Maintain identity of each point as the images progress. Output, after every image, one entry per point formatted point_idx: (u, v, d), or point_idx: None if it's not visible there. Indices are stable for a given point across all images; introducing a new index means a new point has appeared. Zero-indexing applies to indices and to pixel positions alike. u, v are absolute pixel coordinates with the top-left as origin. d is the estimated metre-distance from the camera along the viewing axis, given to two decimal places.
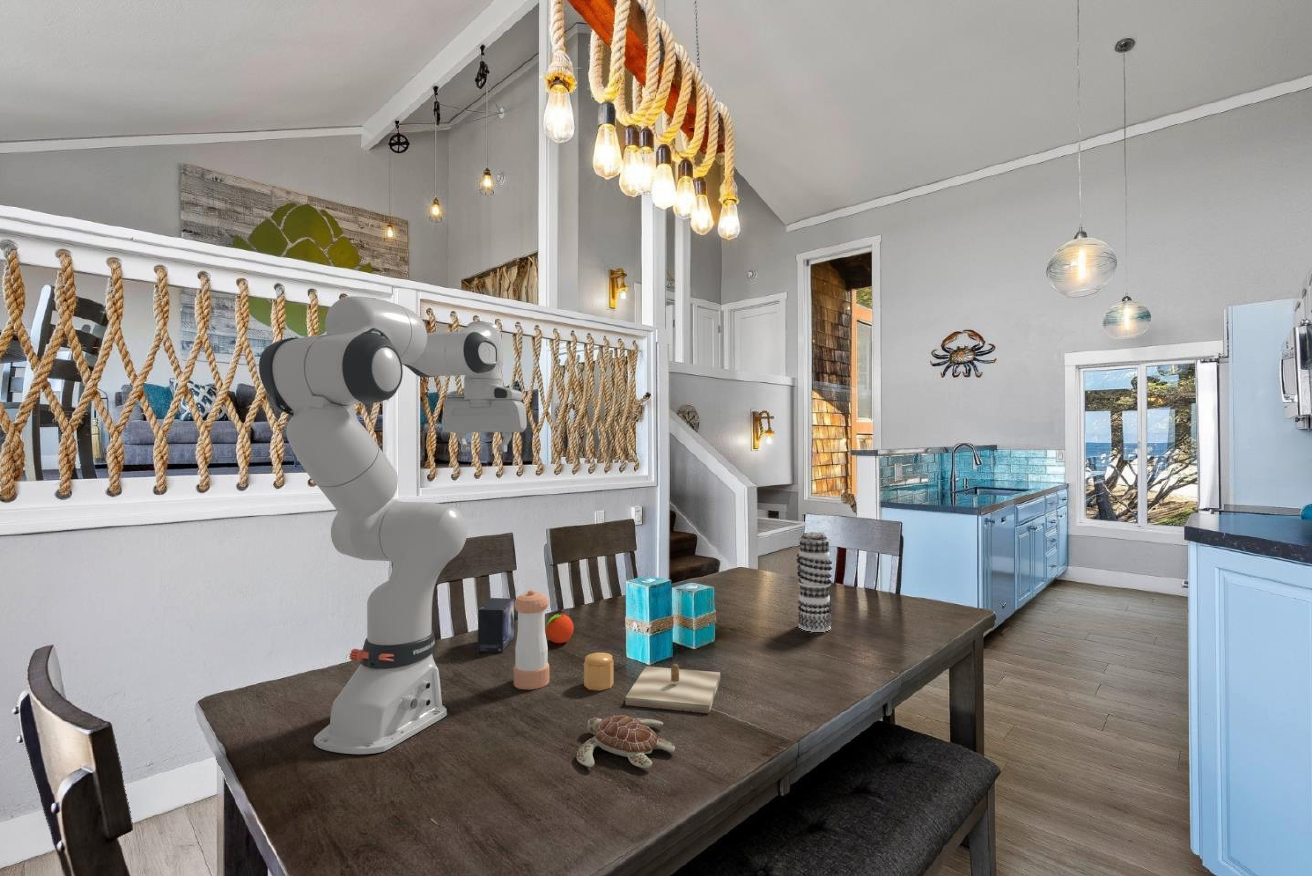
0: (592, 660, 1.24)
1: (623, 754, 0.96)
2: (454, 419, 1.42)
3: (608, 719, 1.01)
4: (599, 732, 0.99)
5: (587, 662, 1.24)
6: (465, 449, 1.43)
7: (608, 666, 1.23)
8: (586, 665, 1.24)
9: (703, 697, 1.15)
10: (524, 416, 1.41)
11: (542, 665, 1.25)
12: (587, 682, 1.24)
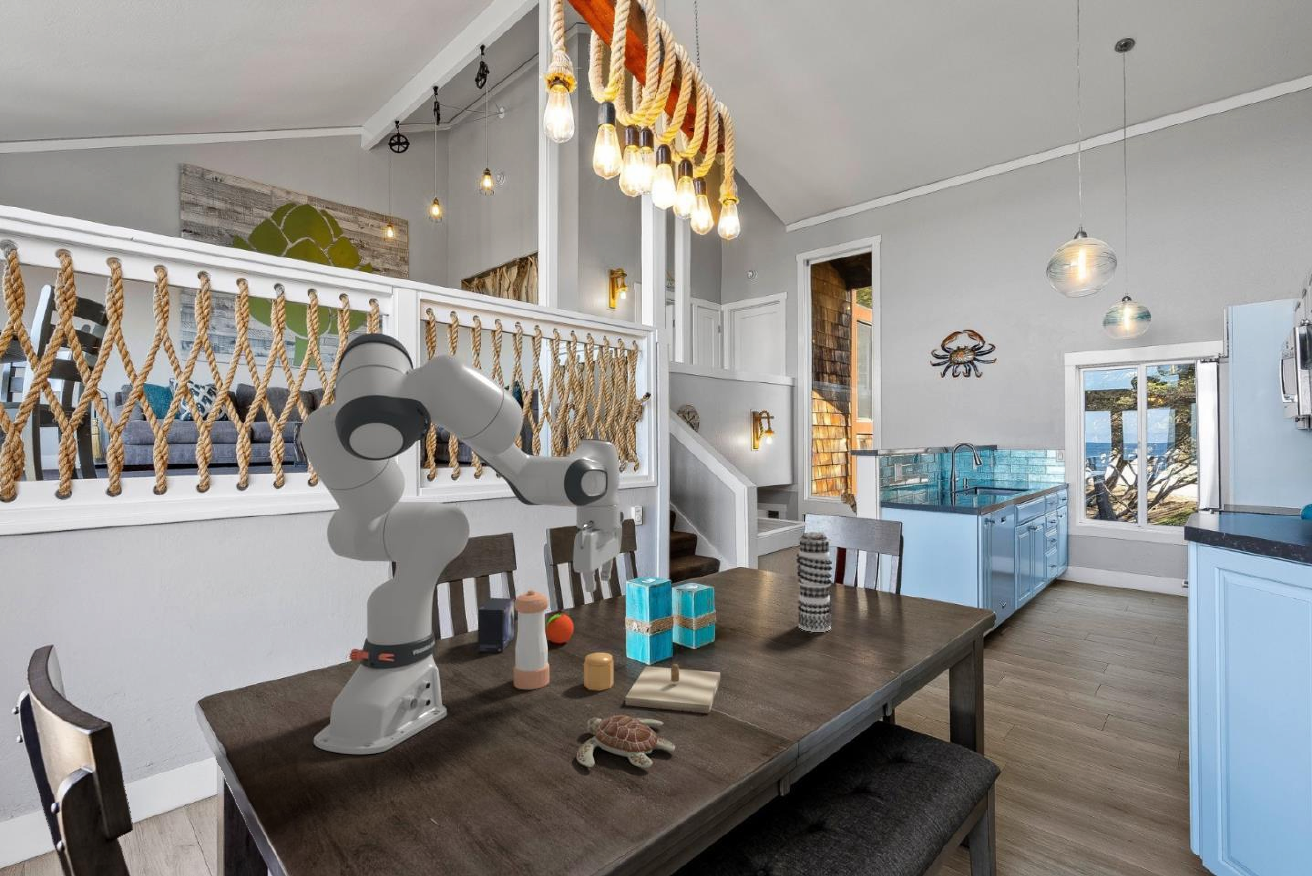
0: (592, 660, 1.24)
1: (623, 754, 0.96)
2: (596, 554, 1.18)
3: (608, 719, 1.01)
4: (599, 732, 0.99)
5: (587, 662, 1.24)
6: (595, 587, 1.21)
7: (608, 666, 1.23)
8: (586, 665, 1.24)
9: (703, 697, 1.15)
10: None
11: (542, 665, 1.25)
12: (587, 682, 1.24)
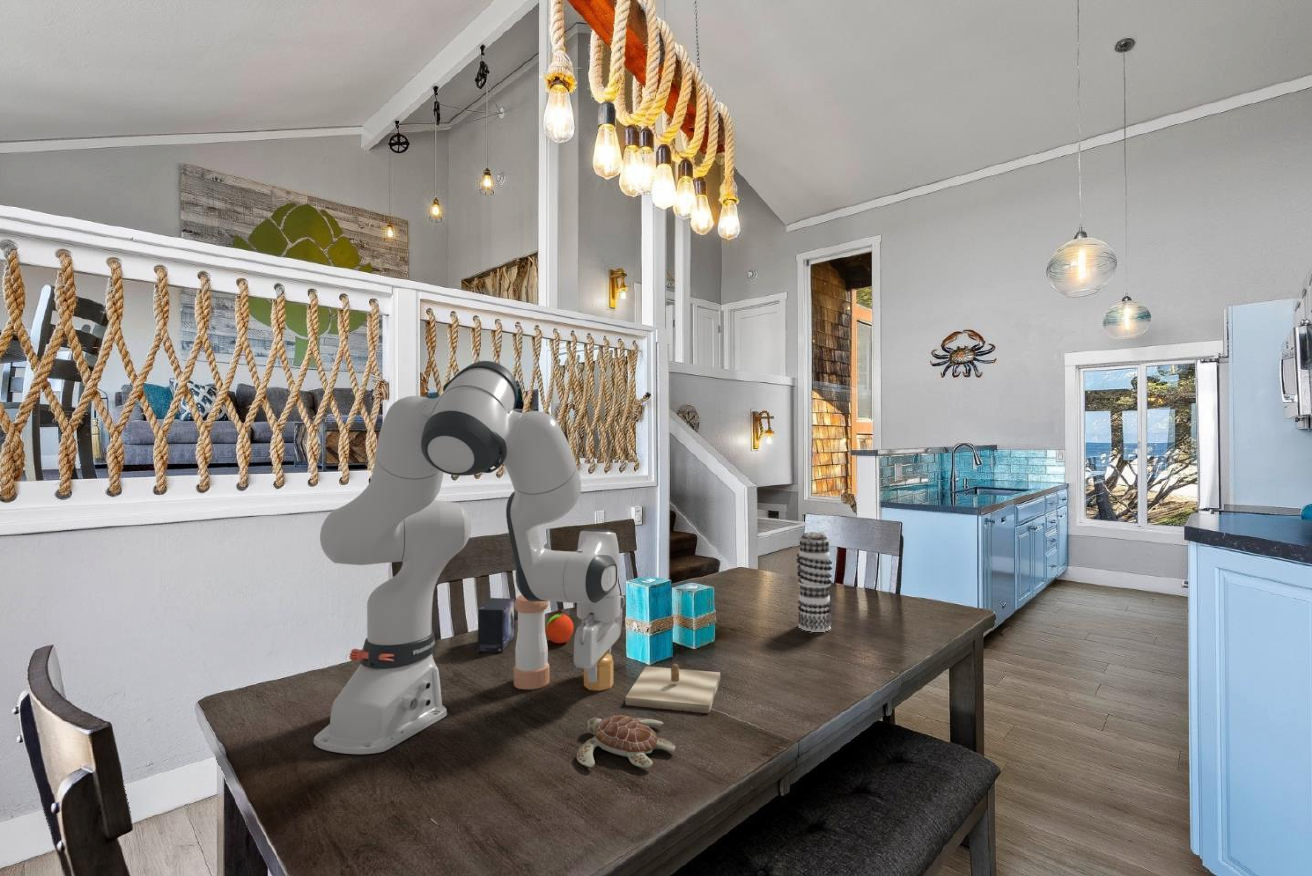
0: None
1: (623, 754, 0.96)
2: (596, 648, 1.19)
3: (608, 719, 1.01)
4: (599, 732, 0.99)
5: None
6: (597, 677, 1.22)
7: (608, 666, 1.23)
8: None
9: (703, 697, 1.15)
10: None
11: (542, 665, 1.25)
12: (587, 682, 1.24)
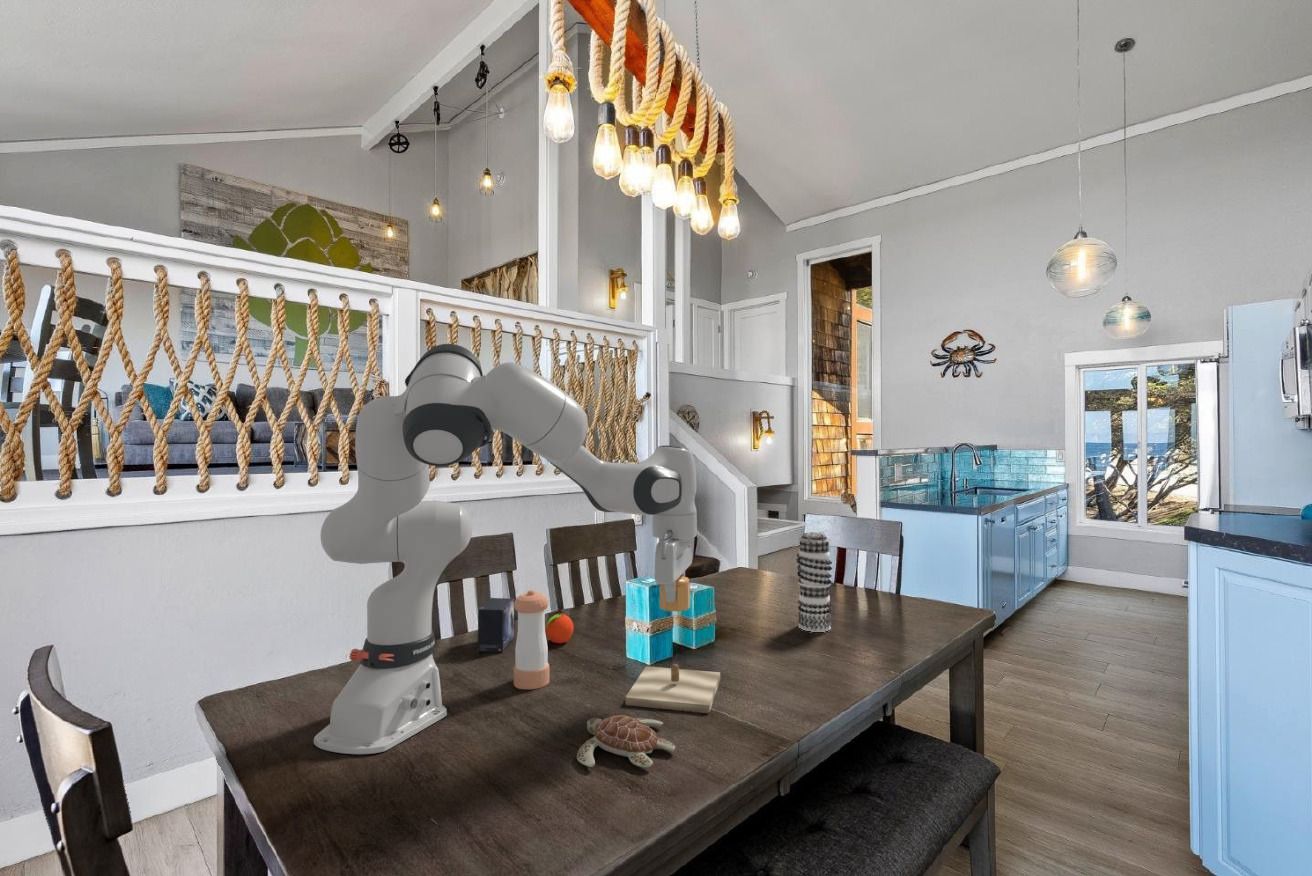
0: None
1: (623, 754, 0.96)
2: (676, 565, 1.15)
3: (608, 719, 1.01)
4: (599, 732, 0.99)
5: None
6: (675, 597, 1.18)
7: (686, 587, 1.19)
8: (663, 586, 1.20)
9: (703, 697, 1.15)
10: None
11: (542, 665, 1.25)
12: (664, 603, 1.19)
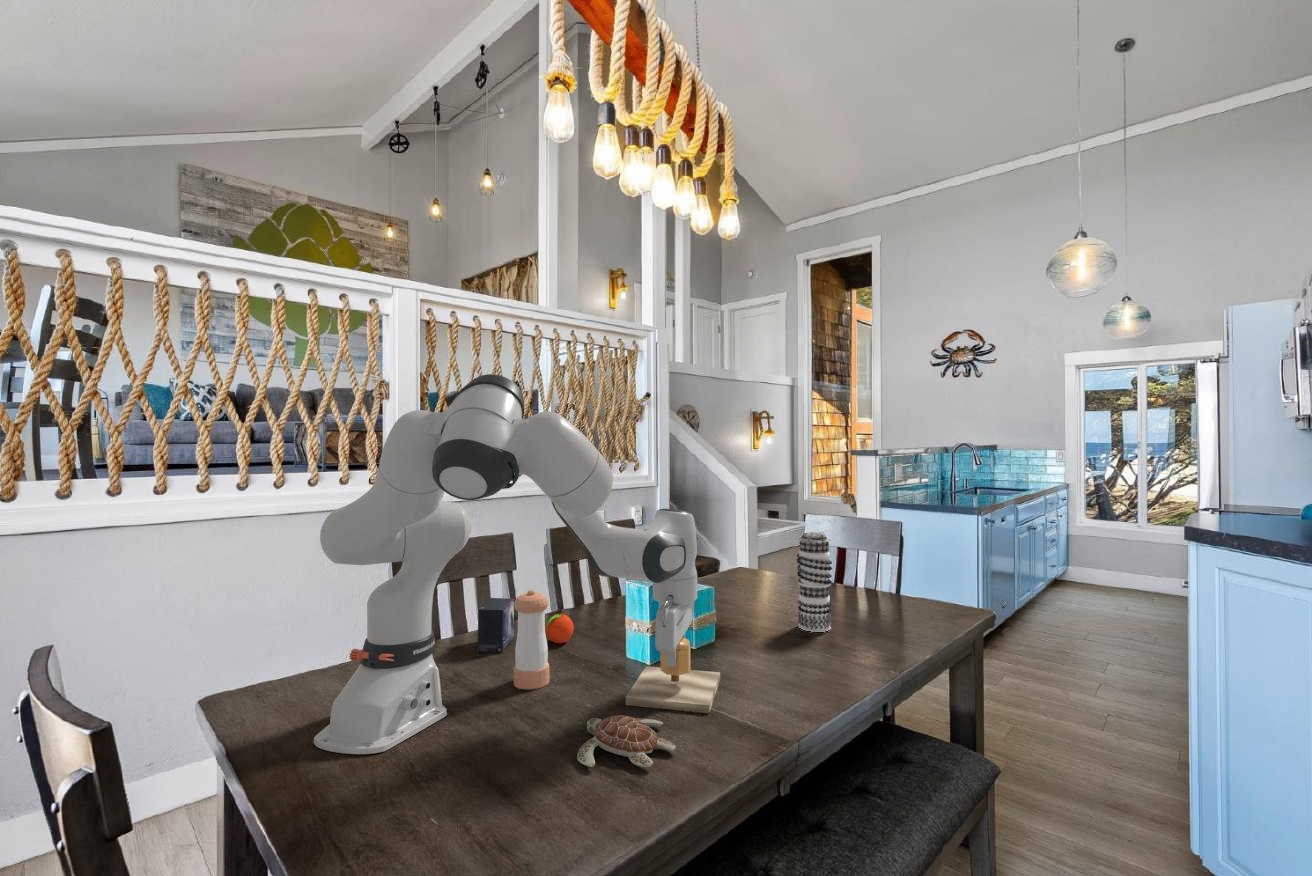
0: None
1: (624, 754, 0.96)
2: (677, 631, 1.15)
3: (608, 719, 1.01)
4: (599, 732, 0.99)
5: None
6: (676, 662, 1.18)
7: (686, 650, 1.19)
8: None
9: (703, 697, 1.15)
10: None
11: (542, 665, 1.25)
12: (664, 667, 1.20)
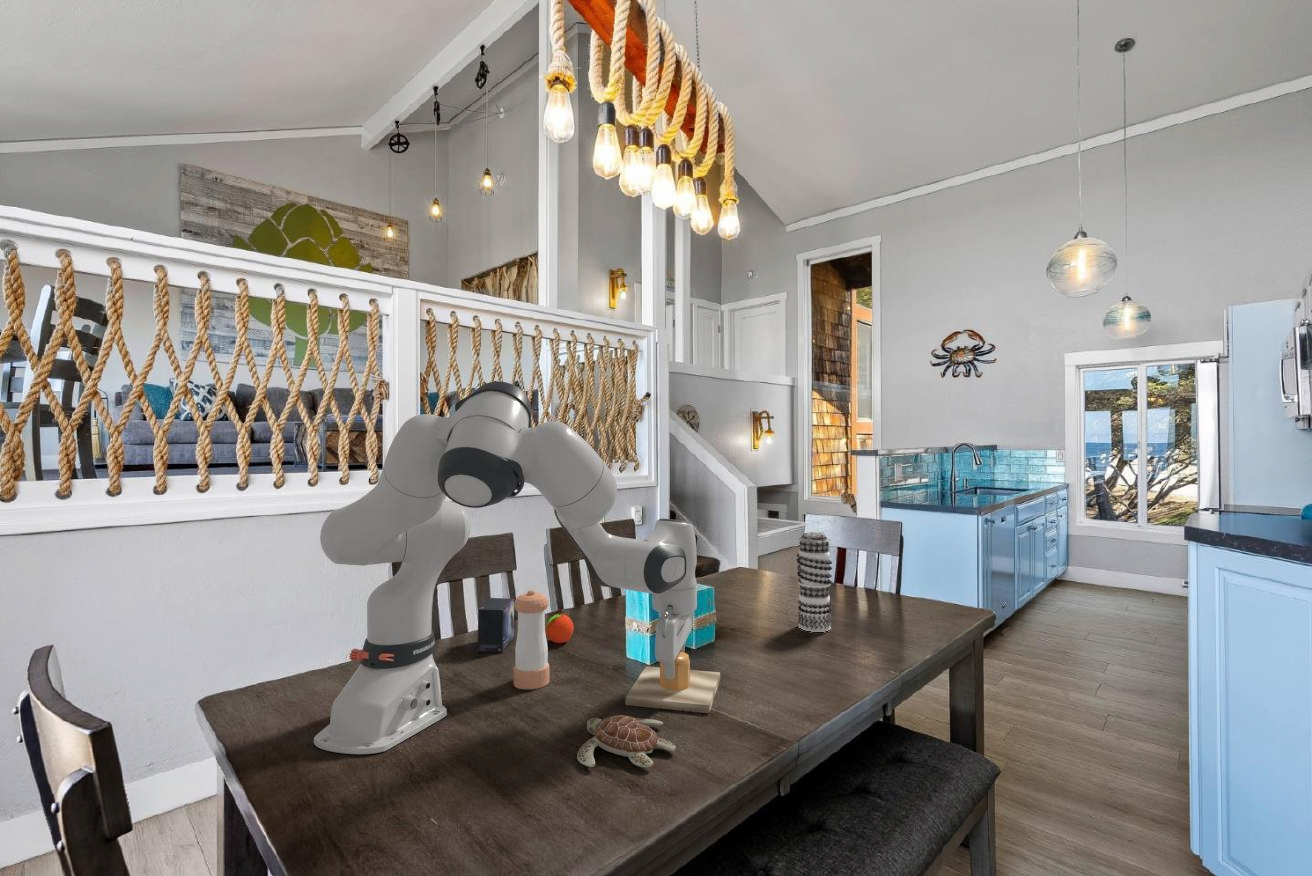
0: None
1: (624, 754, 0.96)
2: (677, 641, 1.15)
3: (608, 719, 1.01)
4: (599, 732, 0.99)
5: None
6: (674, 674, 1.17)
7: (686, 665, 1.20)
8: None
9: (703, 697, 1.15)
10: None
11: (542, 665, 1.25)
12: (664, 682, 1.20)
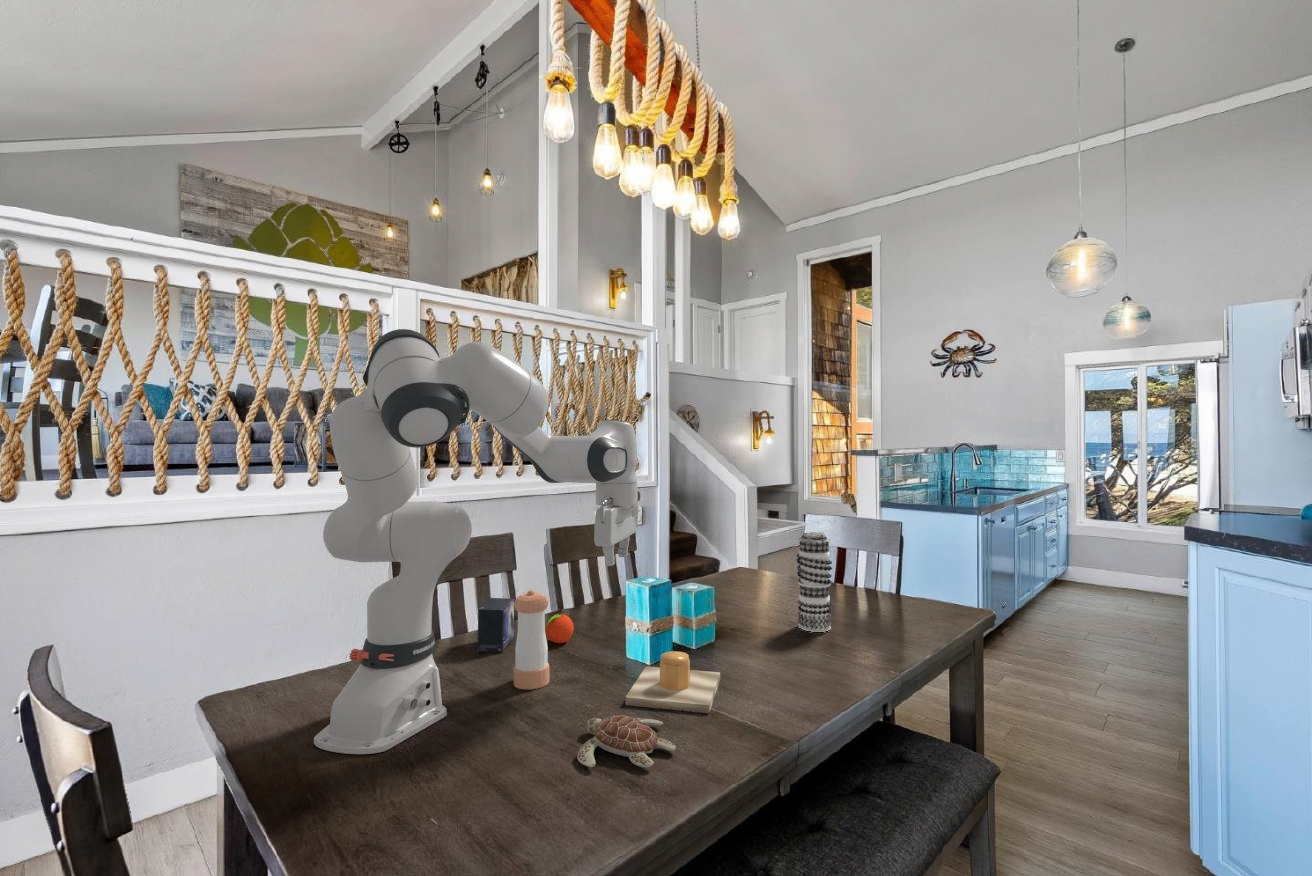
0: (669, 659, 1.20)
1: (624, 754, 0.96)
2: (615, 529, 1.24)
3: (608, 719, 1.01)
4: (599, 732, 0.99)
5: (664, 661, 1.20)
6: (614, 562, 1.26)
7: (686, 665, 1.20)
8: (663, 664, 1.20)
9: (703, 697, 1.15)
10: None
11: (542, 665, 1.25)
12: (664, 682, 1.20)
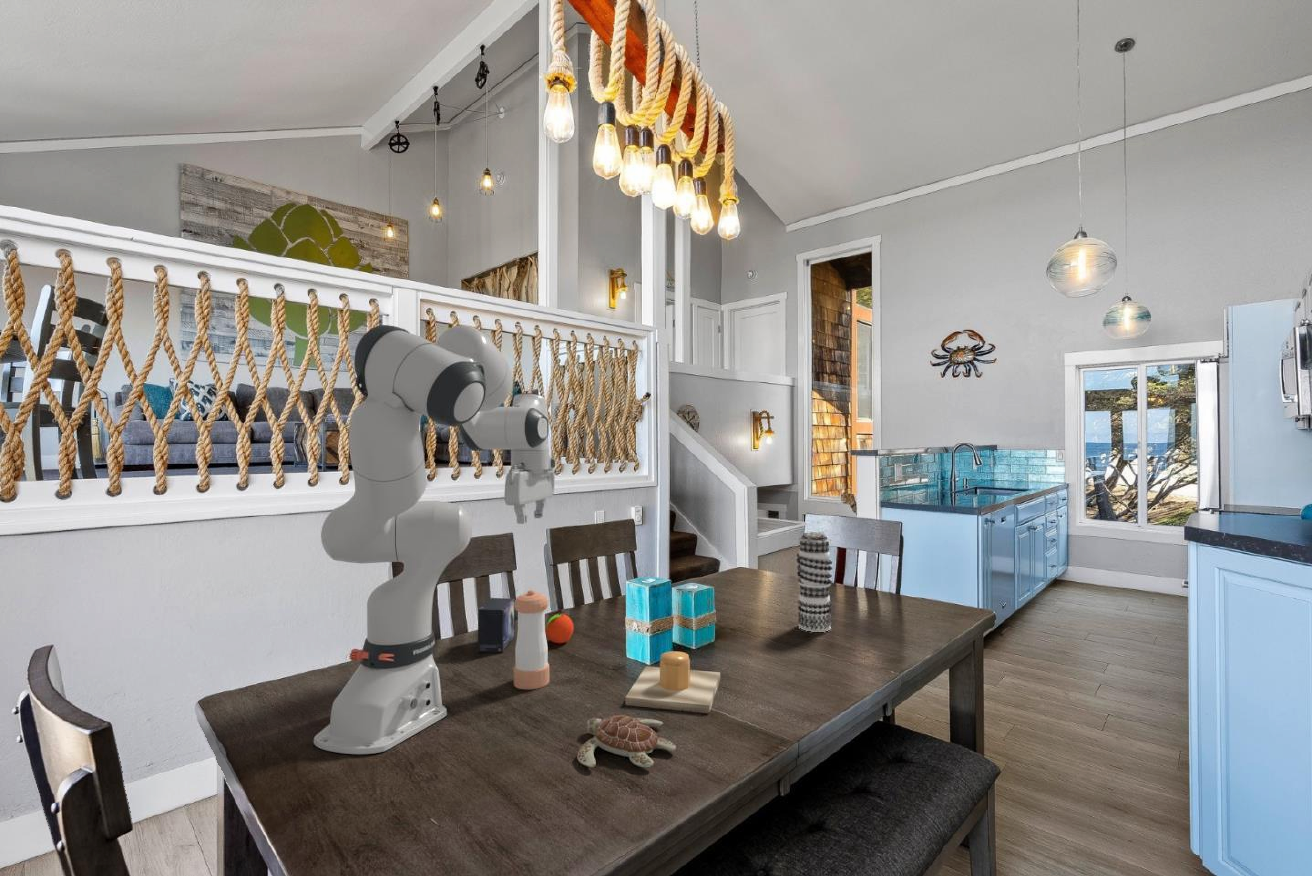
0: (669, 659, 1.20)
1: (624, 754, 0.96)
2: (525, 490, 1.38)
3: (608, 719, 1.01)
4: (599, 732, 0.99)
5: (664, 661, 1.20)
6: (525, 520, 1.41)
7: (686, 665, 1.20)
8: (663, 664, 1.20)
9: (703, 697, 1.15)
10: None
11: (542, 665, 1.25)
12: (664, 682, 1.20)
